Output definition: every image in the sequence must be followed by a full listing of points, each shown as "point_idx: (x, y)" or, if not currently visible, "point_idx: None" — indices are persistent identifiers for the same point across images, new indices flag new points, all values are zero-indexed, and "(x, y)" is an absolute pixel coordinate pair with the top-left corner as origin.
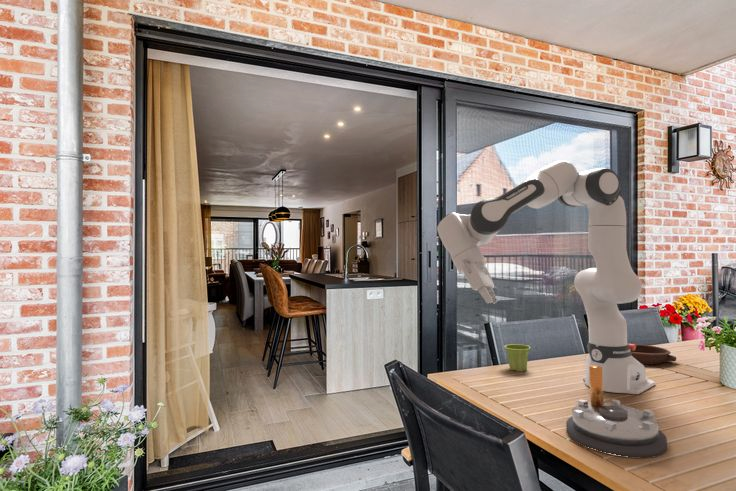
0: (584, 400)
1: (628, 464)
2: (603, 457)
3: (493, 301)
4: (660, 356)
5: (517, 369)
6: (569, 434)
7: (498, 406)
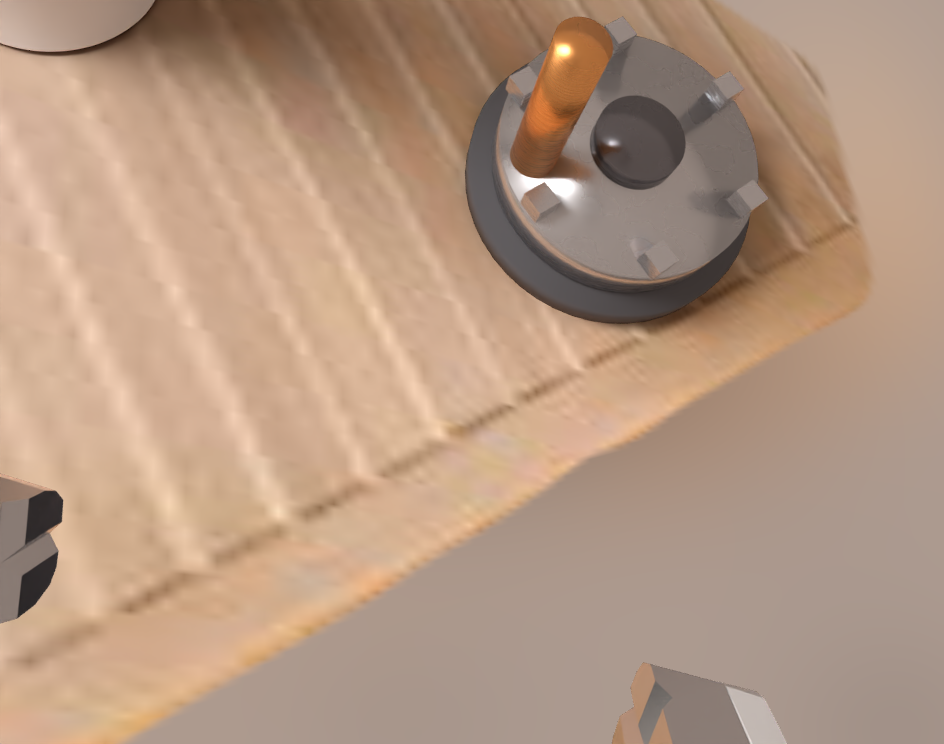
0: (539, 190)
1: (773, 229)
2: (747, 276)
3: (29, 568)
4: None
5: None
6: (627, 320)
7: (339, 533)
